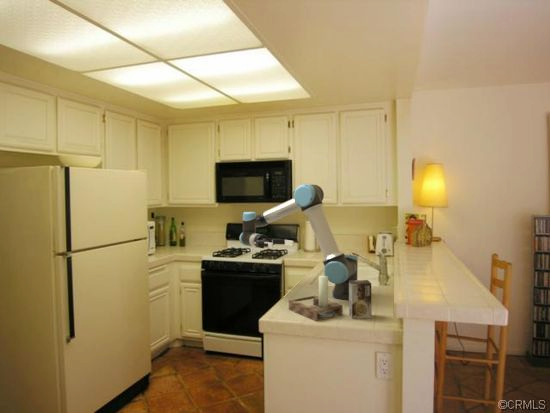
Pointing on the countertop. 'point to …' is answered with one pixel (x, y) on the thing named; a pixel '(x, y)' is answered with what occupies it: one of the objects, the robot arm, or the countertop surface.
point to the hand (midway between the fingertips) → (283, 244)
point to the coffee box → (360, 299)
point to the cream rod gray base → (323, 298)
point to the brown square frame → (313, 307)
